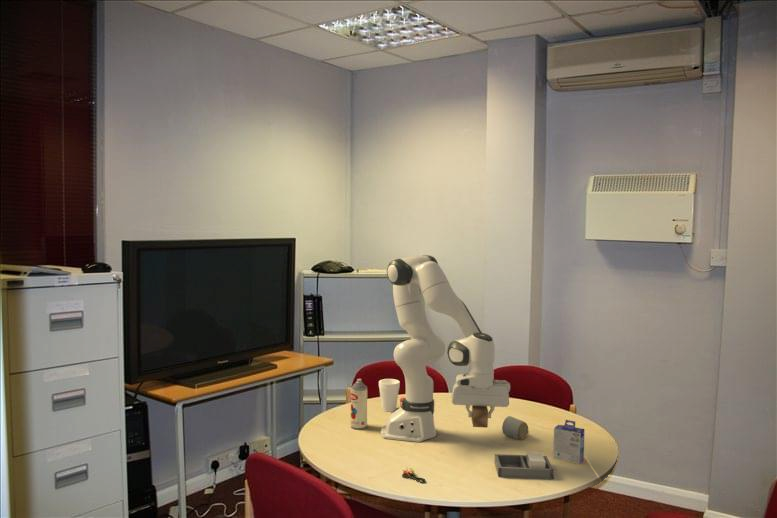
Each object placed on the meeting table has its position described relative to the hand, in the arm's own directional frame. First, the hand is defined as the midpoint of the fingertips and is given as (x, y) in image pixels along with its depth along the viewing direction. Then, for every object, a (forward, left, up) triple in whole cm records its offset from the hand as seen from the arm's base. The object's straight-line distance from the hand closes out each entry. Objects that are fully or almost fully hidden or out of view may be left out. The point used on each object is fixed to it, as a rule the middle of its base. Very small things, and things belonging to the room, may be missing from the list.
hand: (479, 417), depth 215 cm
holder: (+14, -9, -16) cm, 23 cm away
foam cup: (-36, +56, -16) cm, 68 cm away
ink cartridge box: (+32, +3, -16) cm, 36 cm away
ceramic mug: (+17, +27, -16) cm, 36 cm away
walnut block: (0, 0, -2) cm, 2 cm away
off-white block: (+18, -9, -15) cm, 25 cm away
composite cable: (-23, -17, -17) cm, 33 cm away
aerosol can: (-47, +32, -16) cm, 59 cm away
